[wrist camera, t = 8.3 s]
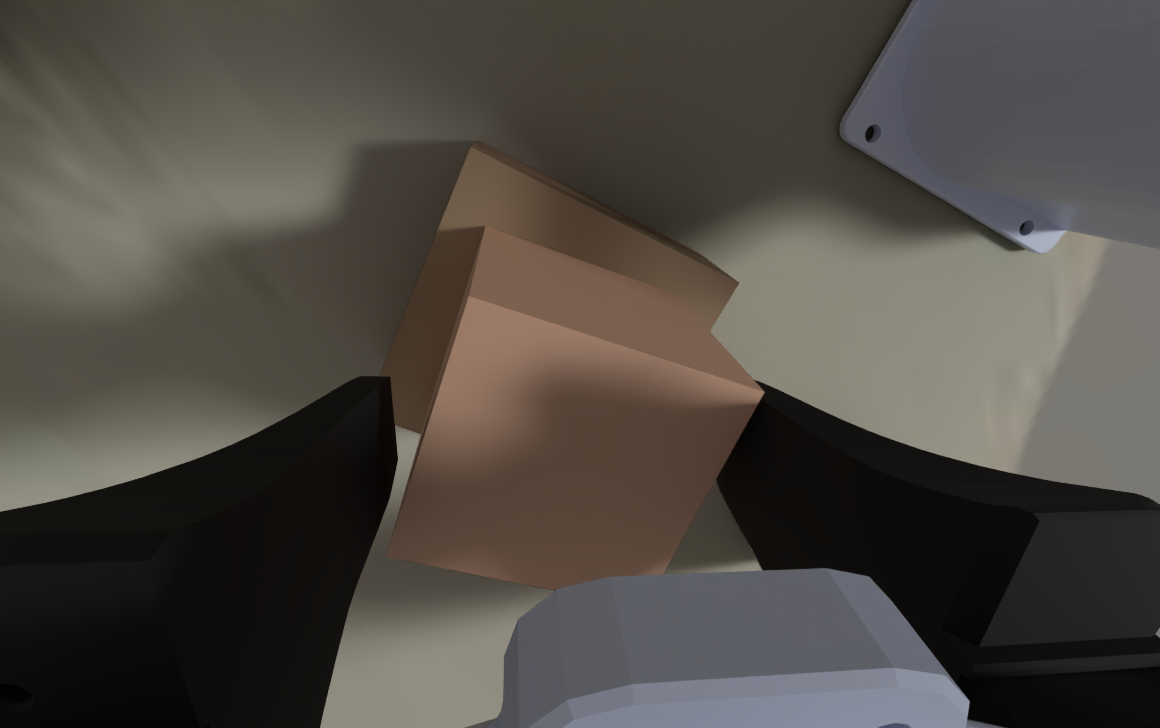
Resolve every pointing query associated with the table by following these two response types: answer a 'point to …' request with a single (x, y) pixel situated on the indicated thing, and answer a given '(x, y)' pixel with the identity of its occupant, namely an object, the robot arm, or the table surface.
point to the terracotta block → (568, 424)
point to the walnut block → (543, 217)
